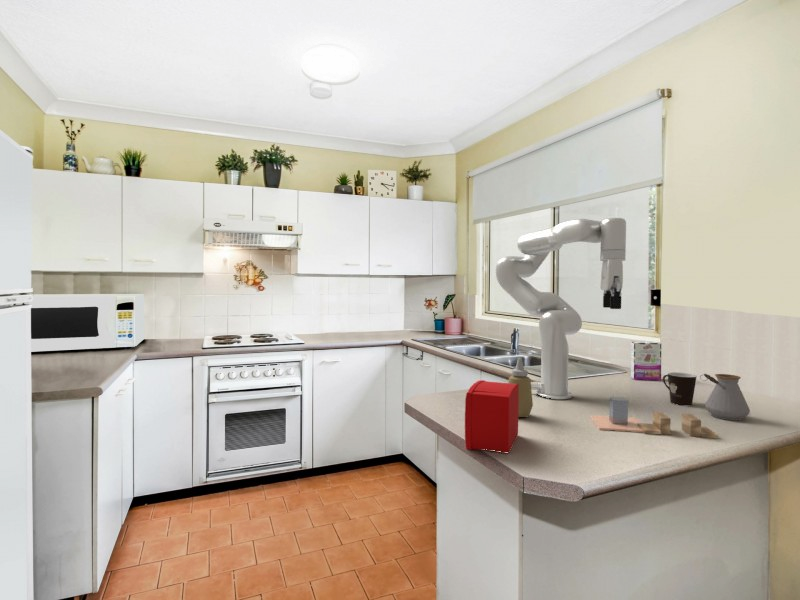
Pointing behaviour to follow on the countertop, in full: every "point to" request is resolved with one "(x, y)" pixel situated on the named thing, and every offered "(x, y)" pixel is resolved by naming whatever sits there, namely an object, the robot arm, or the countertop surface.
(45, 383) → the countertop surface
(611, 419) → the metal block
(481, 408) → the red rounded box
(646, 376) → the candy bar box
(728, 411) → the coffee pot
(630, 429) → the terracotta tile
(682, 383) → the coffee mug
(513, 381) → the squeeze bottle
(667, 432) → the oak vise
